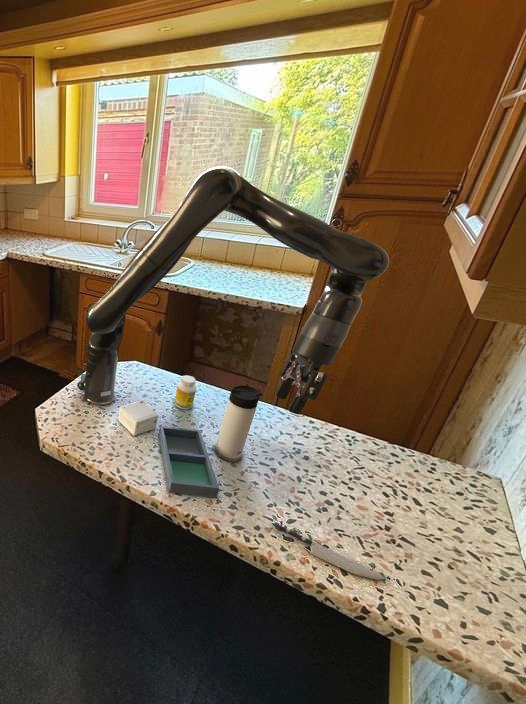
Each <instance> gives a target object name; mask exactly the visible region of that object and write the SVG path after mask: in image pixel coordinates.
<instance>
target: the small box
mask: <svg viewBox="0 0 526 704" xmlns="http://www.w3.org/2000/svg"><path fill="white" fill-rule="evenodd" d="M118 410H119V411H118V417H117V418H118V419H117V420H118V422H120V424H122V426H123V427H125V429H126V430H128V432H129V433H130V434H131V435H132V436H134V437H135V436H137V435H140V434H143V433H146V432H149V431H152V430H156V428H157V423H158V420H159V419H158V418H159V414H158V413H157V412H156V411H155V410H153V409H152V408H151V407H150V406H149V405H147V403H145V402H144V401H143V400H138V401H135V402H130V403H128V404H124V405H121V406H119V409H118Z"/></svg>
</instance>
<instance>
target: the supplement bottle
mask: <svg viewBox="0 0 526 704" xmlns="http://www.w3.org/2000/svg"><path fill="white" fill-rule="evenodd" d="M196 382H197V381H196V378H195V377H194V376H191V375H188V374H187V375H182V376H181V379H180V381H179V382H178V383H177V388H176V392H175V395H174V396H175V397H174V400H173V401H174V405H175V406H176V407H177V408H178V409H180V410H181V409H182V410H190V409H191V408H193V405H194V401H195V396H196V393H197V392H196V391H197V386H196Z"/></svg>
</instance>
